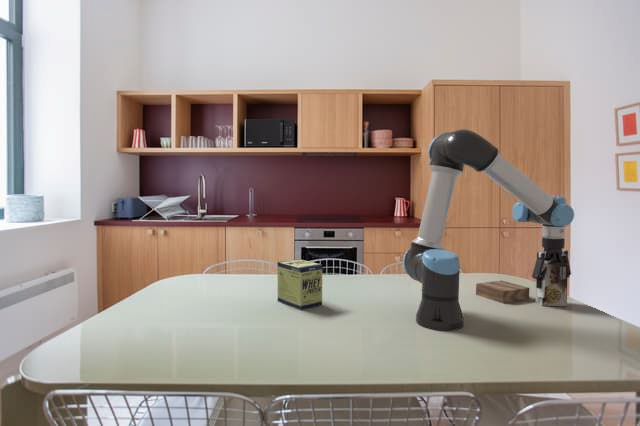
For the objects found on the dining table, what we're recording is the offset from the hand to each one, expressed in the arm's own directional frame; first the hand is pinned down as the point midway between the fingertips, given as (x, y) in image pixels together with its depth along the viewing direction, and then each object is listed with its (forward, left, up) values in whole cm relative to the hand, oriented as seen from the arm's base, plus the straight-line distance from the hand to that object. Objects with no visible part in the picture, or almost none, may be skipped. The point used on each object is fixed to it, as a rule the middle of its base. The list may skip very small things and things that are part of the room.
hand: (551, 295), depth 165 cm
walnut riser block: (-9, +15, -4) cm, 18 cm away
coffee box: (0, 0, -4) cm, 4 cm away
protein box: (-87, +39, -4) cm, 95 cm away
